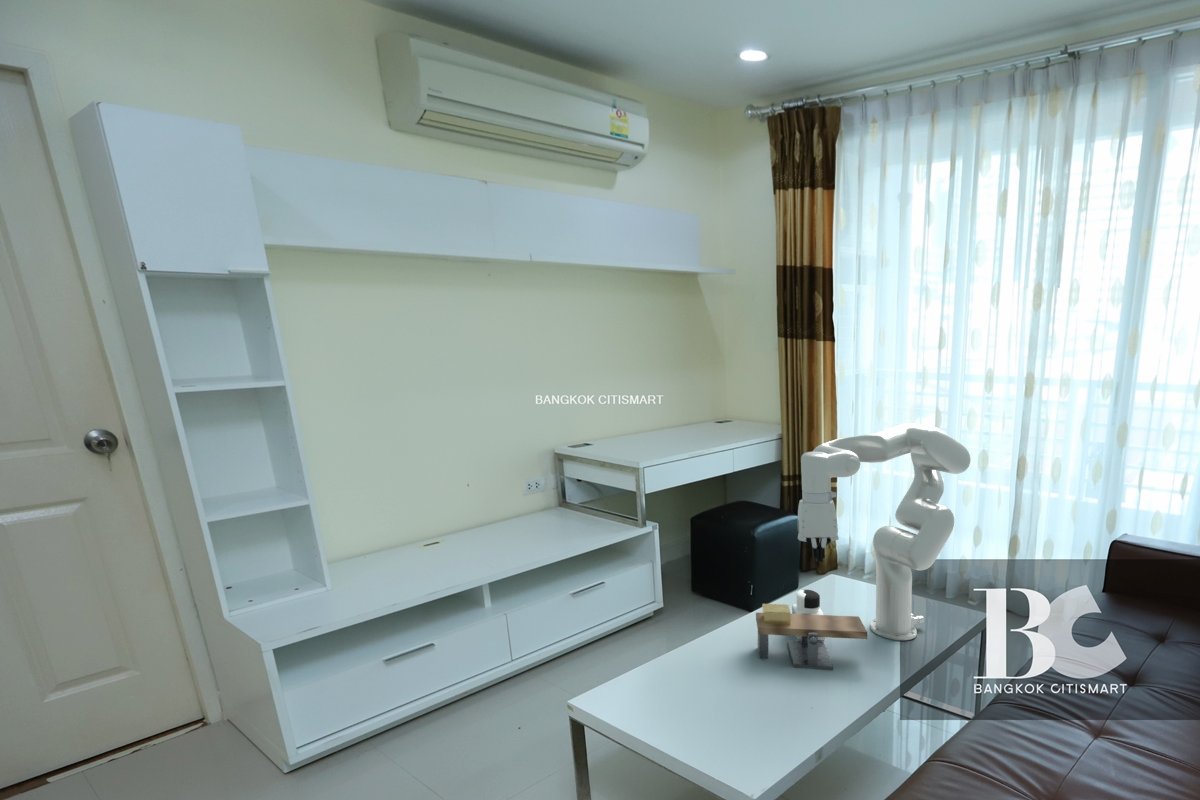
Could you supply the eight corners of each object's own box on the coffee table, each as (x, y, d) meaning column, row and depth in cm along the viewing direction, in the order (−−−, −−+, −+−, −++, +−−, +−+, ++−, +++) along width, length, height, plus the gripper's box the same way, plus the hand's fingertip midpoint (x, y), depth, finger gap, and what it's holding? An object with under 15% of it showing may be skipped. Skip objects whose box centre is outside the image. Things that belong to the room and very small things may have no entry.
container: (817, 628, 181) (818, 587, 180) (824, 641, 174) (825, 598, 172) (791, 627, 182) (791, 586, 181) (797, 640, 174) (797, 597, 173)
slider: (788, 616, 168) (788, 604, 168) (790, 624, 163) (790, 612, 163) (762, 615, 170) (762, 603, 169) (764, 623, 165) (764, 611, 164)
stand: (823, 644, 171) (823, 613, 170) (833, 671, 158) (833, 636, 157) (756, 641, 175) (756, 609, 174) (760, 666, 161) (760, 632, 160)
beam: (858, 623, 167) (858, 616, 166) (867, 639, 158) (867, 631, 158) (756, 619, 172) (755, 612, 172) (758, 634, 163) (758, 627, 163)
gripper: (841, 492, 167) (843, 555, 169) (786, 493, 170) (789, 555, 172) (848, 499, 160) (850, 565, 162) (790, 501, 162) (793, 565, 164)
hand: (818, 560), depth 167 cm, fingers closed
